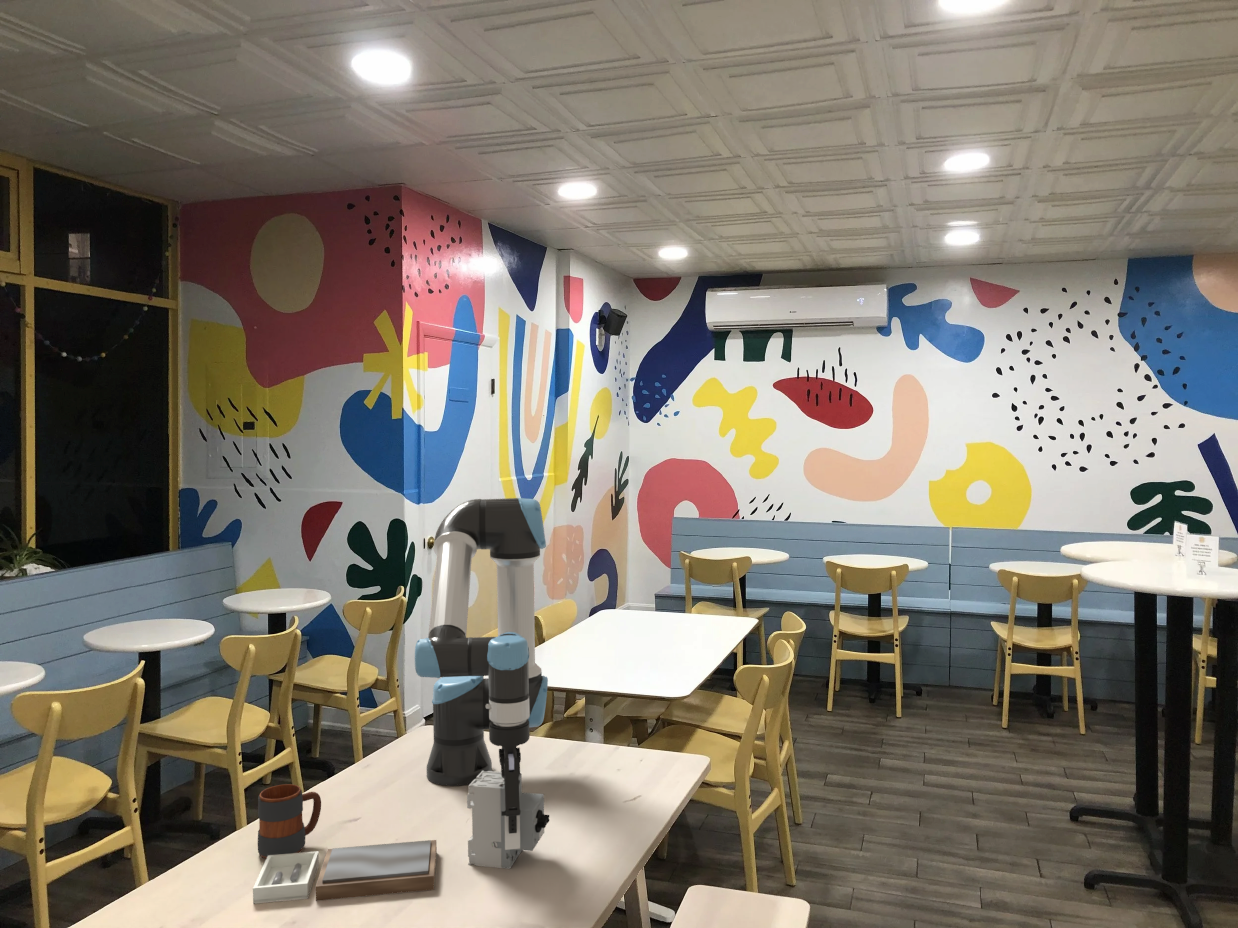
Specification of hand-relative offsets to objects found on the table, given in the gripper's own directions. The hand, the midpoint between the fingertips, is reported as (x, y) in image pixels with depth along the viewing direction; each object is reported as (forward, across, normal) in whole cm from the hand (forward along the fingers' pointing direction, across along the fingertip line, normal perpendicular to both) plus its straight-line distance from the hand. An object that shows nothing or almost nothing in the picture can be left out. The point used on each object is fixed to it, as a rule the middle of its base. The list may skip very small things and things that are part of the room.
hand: (510, 832), depth 170 cm
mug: (+5, -12, -42) cm, 44 cm away
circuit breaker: (+5, 0, 0) cm, 5 cm away
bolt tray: (+5, +2, -40) cm, 40 cm away
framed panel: (+5, +2, -24) cm, 25 cm away
